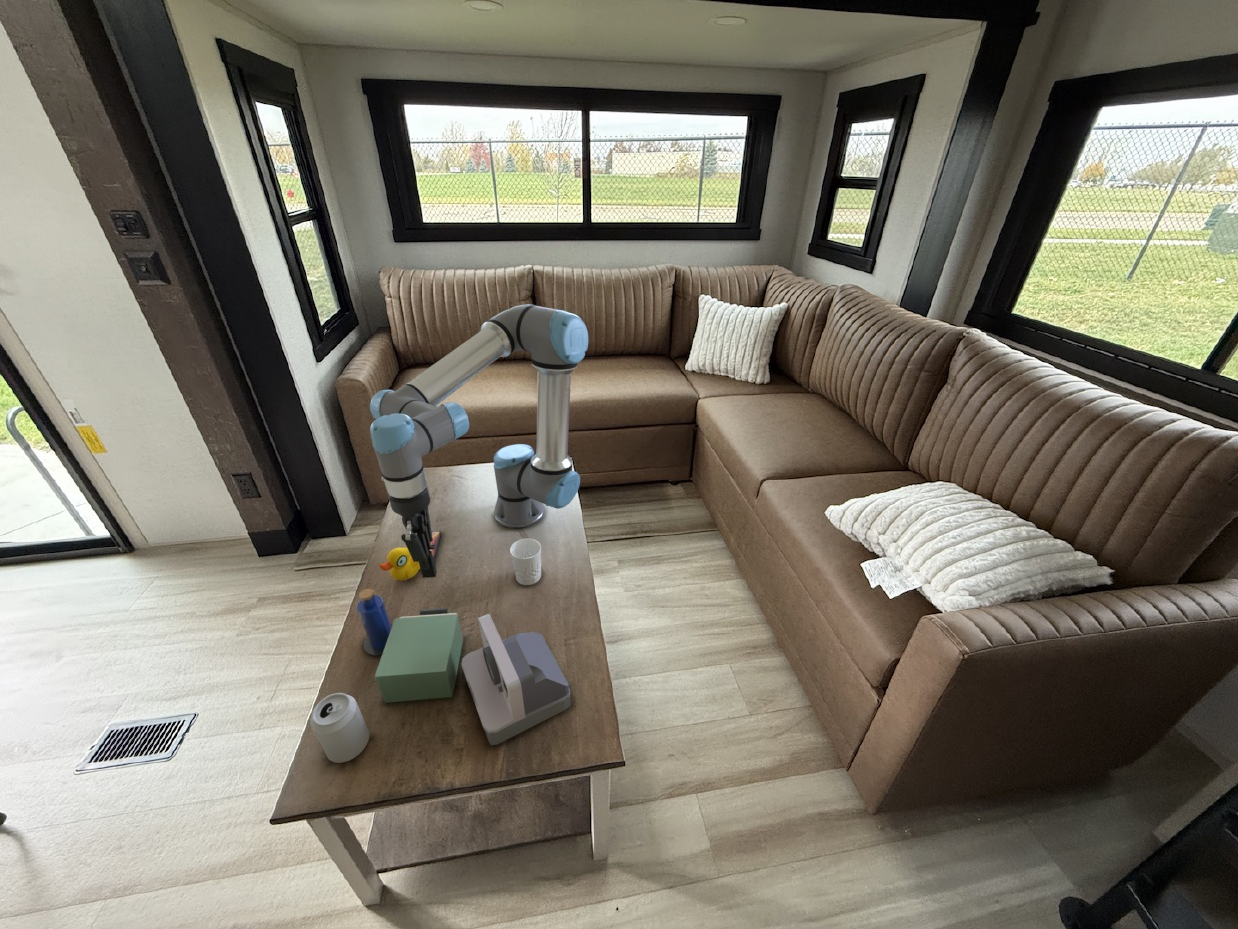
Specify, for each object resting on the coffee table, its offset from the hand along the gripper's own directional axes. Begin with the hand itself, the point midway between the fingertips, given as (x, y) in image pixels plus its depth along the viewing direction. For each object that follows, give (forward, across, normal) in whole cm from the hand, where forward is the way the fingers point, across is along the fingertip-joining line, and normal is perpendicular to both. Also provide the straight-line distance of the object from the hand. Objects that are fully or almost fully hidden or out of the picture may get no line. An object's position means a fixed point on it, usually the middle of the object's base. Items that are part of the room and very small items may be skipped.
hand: (429, 574), depth 112 cm
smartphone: (+16, -26, -10) cm, 32 cm away
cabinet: (+15, +13, -1) cm, 20 cm away
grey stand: (+16, +20, +19) cm, 32 cm away
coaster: (+15, +5, -12) cm, 20 cm away
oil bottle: (+15, +5, -12) cm, 20 cm away
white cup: (+16, -13, +20) cm, 29 cm away
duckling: (+16, -16, -12) cm, 25 cm away
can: (+15, +29, -12) cm, 35 cm away
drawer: (+14, +9, -1) cm, 17 cm away
